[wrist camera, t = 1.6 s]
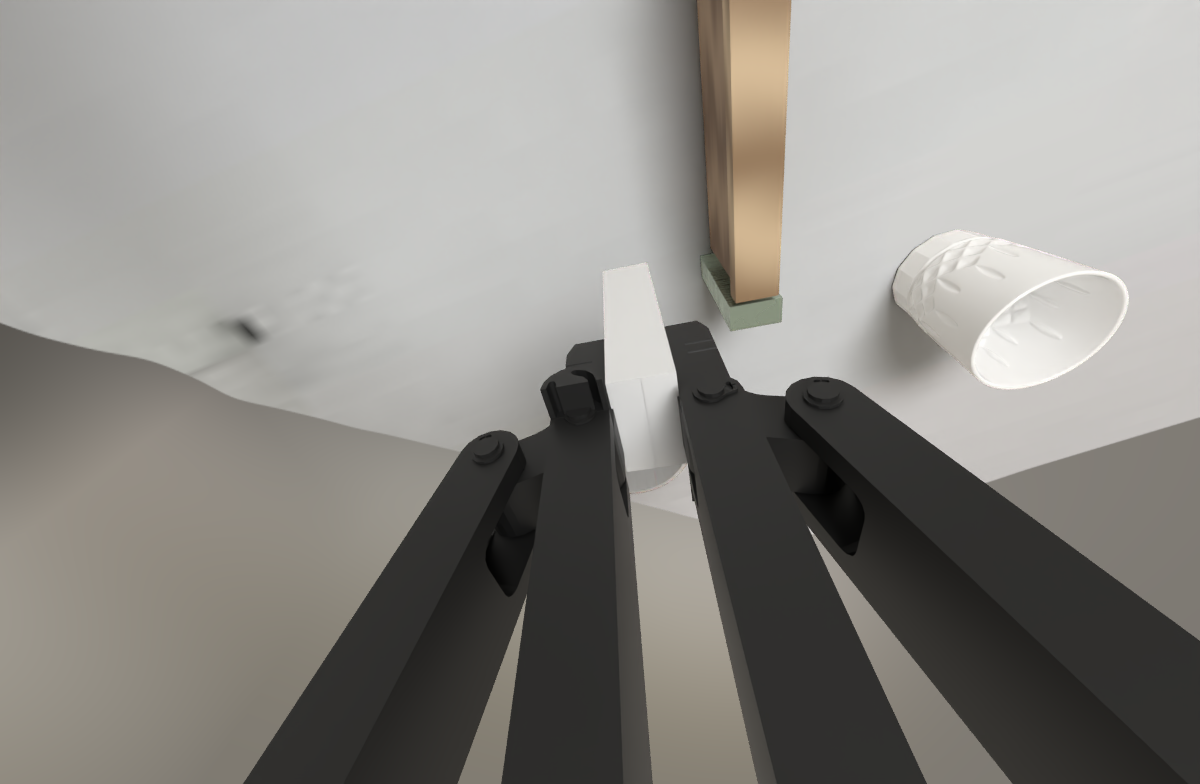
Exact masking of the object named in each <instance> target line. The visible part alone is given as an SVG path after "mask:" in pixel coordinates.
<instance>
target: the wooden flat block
mask: <svg viewBox="0 0 1200 784" xmlns="http://www.w3.org/2000/svg"><path fill="white" fill-rule="evenodd" d="M697 11H698V30H699V48H700V66H701V85H702V103H703V121H704V139H705V158H706V176H707V194H708V213H709V231H710V248H711V250H712V251H713V253H714V254H715V256H716V257H717V259H718V260H719V262H720V263H721V265H722V266H723V268H724V269H725V271H726V272H727V274H728V275H729V277H730V290H731V296H732V298H733V300H734V301H735V303H740V302H746V301H751V300H756V299H762V298H767V297H772V296H778V295H779V275H780V252H781V228H782V205H783V181H784V158H785V135H786V111H787V88H788V64H789V41H790V17H791V0H697Z"/></svg>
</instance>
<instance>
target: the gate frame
mask: <svg viewBox="0 0 1200 784" xmlns="http://www.w3.org/2000/svg"><path fill="white" fill-rule="evenodd" d="M700 260H701V275H702V278H703V280H704V281H705V283H706V285H707V287H708V289H709V291H710V293H711V295H712V297H713V299H714V301H715V303H716V304H717V306H718V308H719V310H720V312H721V314H722V316H723V318H724V320H725V322H726V324H727V325H728V327H729V329H730V331H735V330H741V329H746V328H752V327H757V326H763V325H768V324H774V323H779V322H781V320H782V300H783V298H782V296H781V295H780V294H779V295H778V296H772V297H767V298H762V299H756V300H751V301H746V302H740V303H735V301H734V300H733V298H732V296H731V290H730V277H729V275H728V274H727V272H726V271H725V269H724V268H723V266H722V265H721V263H720V262H719V260H718V259H717V257H716V256H715V254H714V253H712V254H707V255H702V256H700Z"/></svg>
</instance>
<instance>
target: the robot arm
mask: <svg viewBox="0 0 1200 784" xmlns="http://www.w3.org/2000/svg"><path fill="white" fill-rule="evenodd" d="M603 307H604V339H603V340H597V341H592V342H587V343H581V344H576V345H574V347H573V348H572V349H571V351H570V352H569V353H568V355H567V360H566V368H565V370H561V371H559V372H557V373H556V374H554V375H552V376H550V377H549V378H548V379H547V380H546V381H545V382H544V383H543V385H542V387H541V389H540V391H541V394H542V396H543V399H544V402H545V405H546V407H547V410H548V413H549V416H550V418H551V422H550V426H549V427H547V428H546V429H544V430H543V431H541V432H539V433H537V434H535V435H532V436H530V437H527V438H525V439H522V440H520V441H518V439H517V437H516V436H515V435H514V434H512V433H511V432H508V431H502V430H499V431H492V432H488V433H486V434H483V435H481V436H478V437H477V438H475V439H474V440H473V441H471V442H470V443H468V445H467V446H466V447H465V448H464V449H463V450H462V451H461V453H460V455H459V456H458V458H457V459H456V461H455V462H454V464H453V465H452V467H451V468H450V470H449V471H448V473H447V474H446V476H445V477H444V479H443V480H442V482H441V483H440V485H439V487H438V488H437V489H436V491H435V493H434V494H433V496H432V497H431V499H430V500H429V502H428V503H427V505H426V506H425V508H424V509H423V511H422V512H421V514H420V515H419V517H418V518H417V520H416V521H415V523H414V525H413V526H412V528H411V529H410V531H409V532H408V534H407V536H406V537H405V538H404V540H403V541H402V543H401V544H400V546H399V547H398V549H397V550H396V552H395V553H394V555H393V556H392V558H391V560H390V561H389V563H388V564H387V566H386V567H385V569H384V570H383V572H382V573H381V575H380V576H379V578H378V579H377V581H376V582H375V584H374V586H373V587H372V588H371V590H370V591H369V593H368V595H367V596H366V598H365V599H364V601H363V602H362V604H361V605H360V607H359V608H358V610H357V611H356V613H355V614H354V616H353V617H352V619H351V621H350V622H349V623H348V625H347V626H346V628H345V630H344V631H343V633H342V634H341V636H340V637H339V639H338V640H337V642H336V643H335V645H334V646H333V648H332V649H331V651H330V652H329V654H328V655H327V657H326V658H325V660H324V662H323V663H322V665H321V666H320V668H319V669H318V671H317V672H316V674H315V675H314V677H313V678H312V680H311V681H310V683H309V684H308V686H307V687H306V689H305V690H304V692H303V694H302V695H301V697H300V698H299V700H298V701H297V703H296V704H295V706H294V707H293V709H292V710H291V712H290V713H289V715H288V716H287V718H286V720H285V721H284V722H283V724H282V725H281V727H280V729H279V730H278V732H277V733H276V735H275V736H274V738H273V739H272V741H271V742H270V744H269V745H268V747H267V748H266V750H265V751H264V753H263V755H262V756H261V757H260V759H259V760H258V762H257V764H256V765H255V767H254V768H253V770H252V771H251V773H250V775H249V776H248V777H247V779H246V780H245V782H244V783H243V784H457V783H458V781H459V778H460V775H461V772H462V770H463V767H464V764H465V761H466V758H467V756H468V753H469V751H470V748H471V745H472V742H473V740H474V737H475V734H476V732H477V729H478V726H479V723H480V721H481V718H482V715H483V713H484V710H485V707H486V704H487V702H488V699H489V696H490V693H491V691H492V688H493V685H494V683H495V680H496V677H497V674H498V671H499V669H500V666H501V663H502V661H503V658H504V655H505V652H506V650H507V647H508V644H509V641H510V639H511V636H512V633H513V631H514V628H515V625H516V623H517V620H518V617H519V614H520V612H521V609H522V606H523V603H524V600H525V598H526V595H527V599H526V606H525V614H524V621H523V629H522V636H521V643H520V651H519V659H518V665H517V673H516V680H515V688H514V695H513V702H512V710H511V717H510V724H509V732H508V739H507V746H506V754H505V762H504V769H503V776H502V783H501V784H653V783H652V770H651V757H650V747H649V746H650V745H649V734H648V733H649V732H648V720H647V707H646V694H645V682H644V670H643V657H642V644H641V632H640V619H639V606H638V594H637V581H636V569H635V556H634V543H633V531H632V518H631V505H630V492H629V486H628V482H627V478H626V472H625V466H626V470H627V472H631V471H638V470H645V469H652V468H658V467H665V466H672V465H679V464H686V463H687V462H688V468H689V476H690V484H691V492H692V500H693V501H695V505H696V509H697V514H698V518H699V522H700V526H701V531H702V535H703V540H704V545H705V549H706V554H707V558H708V562H709V567H710V571H711V576H712V580H713V584H714V589H715V593H716V598H717V603H718V607H719V611H720V616H721V620H722V624H723V629H724V634H725V638H726V643H727V647H728V652H729V656H730V660H731V665H732V669H733V673H734V678H735V683H736V687H737V692H738V696H739V701H740V705H741V709H742V714H743V718H744V722H745V727H746V731H747V736H748V740H749V745H750V749H751V754H752V758H753V763H754V767H755V772H756V776H757V781H758V784H927V783H926V781H925V779H924V777H923V774H922V772H921V770H920V768H919V766H918V764H917V762H916V759H915V757H914V756H913V753H912V751H911V749H910V746H909V744H908V742H907V740H906V738H905V736H904V733H903V732H902V729H901V727H900V725H899V723H898V721H897V718H896V716H895V714H894V712H893V710H892V708H891V706H890V703H889V701H888V699H887V697H886V695H885V693H884V690H883V688H882V686H881V684H880V682H879V680H878V677H877V675H876V673H875V671H874V669H873V667H872V664H871V662H870V660H869V658H868V656H867V654H866V652H865V650H864V647H863V645H862V643H861V641H860V639H859V636H858V634H857V632H856V630H855V628H854V626H853V624H852V621H851V619H850V617H849V615H848V613H847V611H846V608H845V606H844V604H843V602H842V600H841V598H840V596H839V594H838V591H837V589H836V587H835V585H834V583H833V581H832V578H831V576H830V574H829V572H828V570H827V567H826V565H825V563H824V561H823V559H822V557H821V555H820V552H819V550H818V548H817V546H816V544H815V542H814V540H813V537H812V535H811V533H810V531H809V529H808V527H809V528H810V529H811V531H812V532H813V533H814V534H815V535H816V537H817V538H818V539H819V541H820V542H821V543H822V544H823V546H824V547H825V548H826V549H827V551H828V552H829V553H830V554H831V556H832V557H833V558H834V559H835V561H836V562H837V563H838V564H839V566H840V567H841V568H842V570H843V571H844V572H845V573H846V575H847V576H848V577H849V578H850V580H851V581H852V582H853V583H854V585H855V586H856V587H857V588H858V590H859V591H860V592H861V593H862V595H863V596H864V597H865V598H866V600H867V601H868V602H869V604H870V605H871V606H872V607H873V608H874V610H875V611H876V612H877V614H878V615H879V616H880V617H881V619H882V620H883V621H884V622H885V624H886V625H887V626H888V627H889V628H890V630H891V631H892V632H893V634H894V635H895V636H896V637H897V639H898V640H899V641H900V642H901V644H902V645H903V646H904V647H905V649H906V650H907V651H908V653H909V654H910V655H911V656H912V658H913V659H914V660H915V661H916V663H917V664H918V665H919V666H920V668H921V669H922V670H923V671H924V673H925V674H926V675H927V676H928V678H929V679H930V680H931V682H932V683H933V684H934V685H935V686H936V688H937V689H938V690H939V692H940V693H941V694H942V695H943V697H944V698H945V699H946V700H947V702H948V703H949V704H950V705H951V707H952V708H953V709H954V710H955V712H956V713H957V714H958V715H959V717H960V718H961V719H962V721H963V722H964V723H965V724H966V725H967V727H968V728H969V729H970V731H971V732H972V733H973V734H974V736H976V738H977V739H978V741H979V742H980V743H981V744H982V746H983V747H984V748H985V749H986V751H987V752H988V753H989V754H990V756H991V757H992V758H993V759H994V761H995V762H996V763H997V764H998V766H999V767H1000V768H1001V770H1002V771H1003V772H1004V773H1005V775H1006V776H1007V777H1008V778H1009V780H1010V781H1011V782H1012V783H1013V784H1200V641H1199V640H1198V639H1197V638H1195V637H1194V636H1192V635H1191V634H1190V633H1188V632H1187V631H1186V630H1184V629H1183V628H1181V627H1180V626H1179V625H1177V624H1176V623H1175V622H1173V621H1172V620H1171V619H1169V618H1168V617H1166V616H1165V615H1164V614H1162V613H1161V612H1160V611H1158V610H1157V609H1156V608H1154V607H1153V606H1152V605H1150V604H1149V603H1148V602H1146V601H1145V600H1143V599H1142V598H1140V597H1139V596H1138V595H1137V594H1135V593H1134V592H1133V591H1131V590H1130V589H1128V588H1127V587H1126V586H1124V585H1123V584H1122V583H1120V582H1119V581H1118V580H1116V579H1115V578H1113V577H1112V576H1111V575H1109V574H1108V573H1107V572H1105V571H1104V570H1103V569H1101V568H1100V567H1098V566H1097V565H1096V564H1094V563H1093V562H1092V561H1090V560H1089V559H1088V558H1086V557H1085V556H1084V555H1082V554H1081V553H1079V552H1078V551H1077V550H1075V549H1074V548H1073V547H1071V546H1070V545H1068V544H1067V543H1066V542H1064V541H1063V540H1062V539H1060V538H1059V537H1058V536H1056V535H1055V534H1054V533H1052V532H1051V531H1050V530H1048V529H1047V528H1045V527H1044V526H1043V525H1041V524H1040V523H1038V522H1037V521H1036V520H1035V519H1033V518H1032V517H1030V516H1029V515H1028V514H1026V513H1025V512H1024V511H1022V510H1021V509H1020V508H1018V507H1017V506H1015V505H1014V504H1013V503H1011V502H1010V501H1009V500H1007V499H1006V498H1005V497H1003V496H1002V495H1000V494H999V493H997V492H996V491H995V490H993V489H992V488H991V487H989V486H988V485H987V484H986V483H984V482H983V481H981V480H980V479H979V478H977V477H976V476H975V475H973V474H972V473H971V472H969V471H968V470H966V469H965V468H964V467H962V466H961V465H960V464H958V463H957V462H956V461H954V460H953V459H951V458H950V457H949V456H947V455H946V454H945V453H943V452H942V451H941V450H939V449H938V448H936V447H935V446H934V445H932V444H931V443H930V442H928V441H927V440H926V439H924V438H923V437H922V436H920V435H919V434H917V433H916V432H915V431H913V430H912V429H911V428H909V427H908V426H907V425H905V424H904V423H902V422H901V421H900V420H898V419H897V418H896V417H894V416H893V415H892V414H890V413H889V412H887V411H886V410H885V409H883V408H882V407H881V406H879V405H878V404H877V403H875V402H874V401H872V400H871V399H870V398H868V397H867V396H866V395H864V394H863V393H862V392H860V391H859V390H858V389H856V388H855V387H853V386H851V385H850V384H848V383H846V382H844V381H841V380H837V379H833V378H829V377H811V378H806V379H801V380H799V381H797V382H795V383H793V384H791V386H790V387H789V388H788V389H787V391H786V396H767V395H758V394H754V393H750V392H747V391H745V390H744V389H743V387H742V386H741V385H740V383H739V382H738V381H737V380H735V379H732V378H730V376H729V374H728V371H727V369H726V367H725V365H724V362H723V360H722V358H721V356H720V353H719V351H718V349H717V347H716V344H715V342H714V340H713V337H712V335H711V333H710V331H709V328H707V327H706V326H704V325H703V324H701V323H700V322H698V321H693V322H688V323H682V324H677V325H671V326H666V327H664V324H663V320H662V317H661V313H660V309H659V305H658V301H657V298H656V294H655V290H654V286H653V283H652V279H651V275H650V271H649V268H648V264H647V262H645V263H640V264H635V265H630V266H626V267H621V268H616V269H611V270H606V271H603ZM807 526H808V527H807Z"/></svg>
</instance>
